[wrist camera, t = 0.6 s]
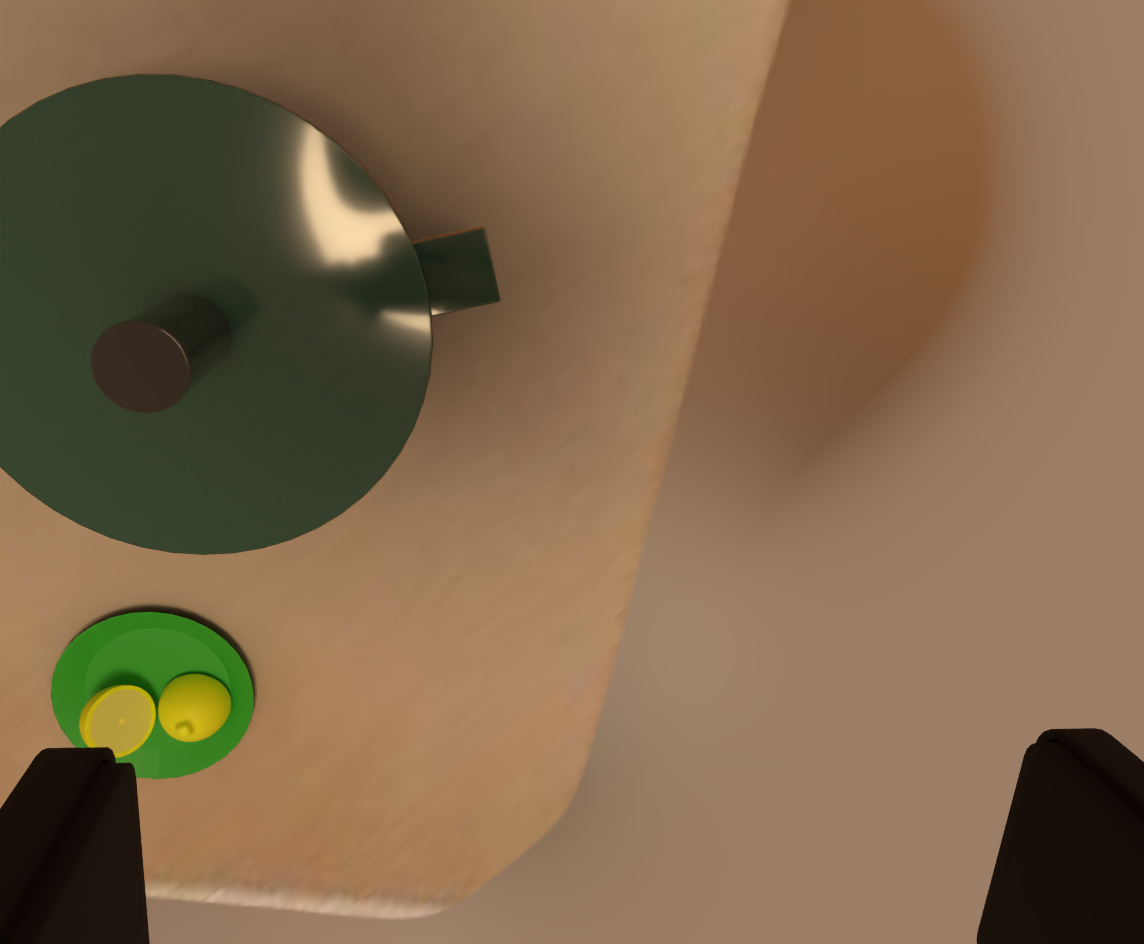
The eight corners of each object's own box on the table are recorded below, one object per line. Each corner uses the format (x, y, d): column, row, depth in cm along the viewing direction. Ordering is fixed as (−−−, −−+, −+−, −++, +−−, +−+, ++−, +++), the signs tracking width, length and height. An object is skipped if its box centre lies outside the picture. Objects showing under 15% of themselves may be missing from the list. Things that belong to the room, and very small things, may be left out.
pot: (-102, 165, 31) (-231, 165, 25) (441, 59, 33) (443, 34, 27) (49, 523, 36) (-30, 596, 30) (520, 417, 37) (537, 465, 31)
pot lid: (-145, 131, 26) (-310, 120, 20) (366, 33, 27) (348, -3, 21) (52, 586, 31) (-36, 682, 25) (477, 488, 32) (486, 558, 26)
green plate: (109, 793, 40) (86, 837, 37) (21, 641, 37) (-11, 677, 35) (285, 735, 40) (274, 775, 38) (211, 580, 38) (194, 611, 35)
